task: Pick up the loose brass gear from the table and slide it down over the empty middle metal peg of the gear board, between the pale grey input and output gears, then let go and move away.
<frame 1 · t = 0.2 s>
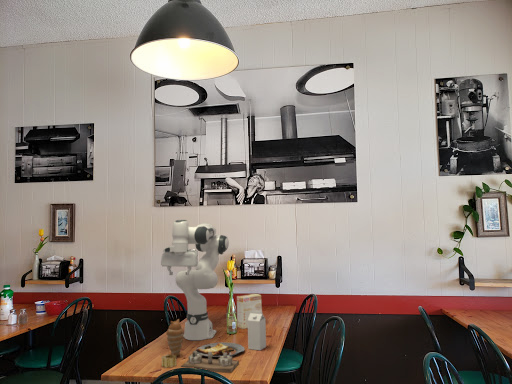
hand: (179, 275, 228), 39 cm above the table, tool pointing down, fingers open, 8 cm apart
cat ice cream: (175, 356, 214), on the table
food plate: (219, 353, 218), on the table
brass gear: (169, 365, 200), on the table
coffeecake box: (249, 326, 272), on the table
gear board: (210, 366, 197), on the table
milk carton: (257, 348, 224), on the table
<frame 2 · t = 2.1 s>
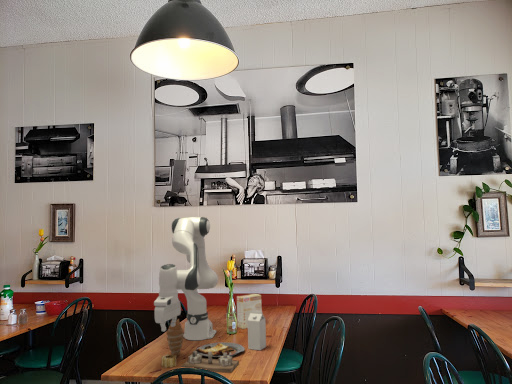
hand: (168, 328, 201), 17 cm above the table, tool pointing down, fingers open, 8 cm apart
nothing on the table moved.
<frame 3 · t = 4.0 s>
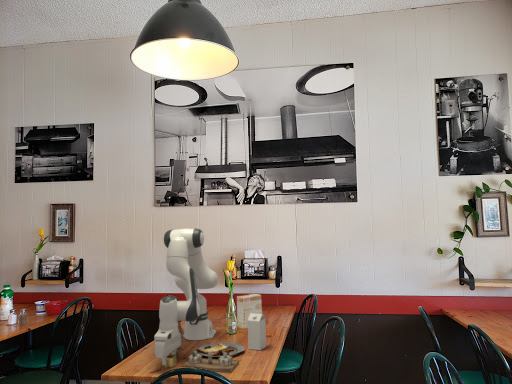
hand: (169, 361, 200), 2 cm above the table, tool pointing down, fingers closed on brass gear, 7 cm apart
brass gear: (169, 365, 200), on the table, touching gripper
everything else where it was.
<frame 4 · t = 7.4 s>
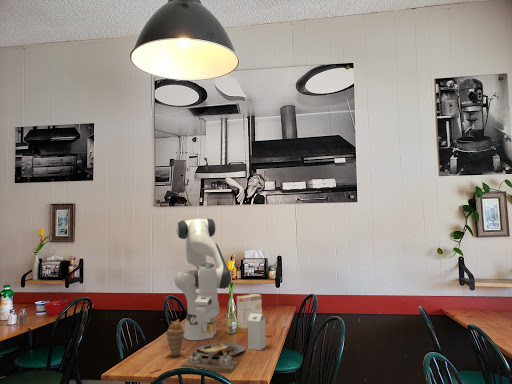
hand: (208, 328, 198), 17 cm above the table, tool pointing down, fingers closed on brass gear, 7 cm apart
brass gear: (208, 332, 198), point 16 cm above the table, touching gripper
everything else where it was.
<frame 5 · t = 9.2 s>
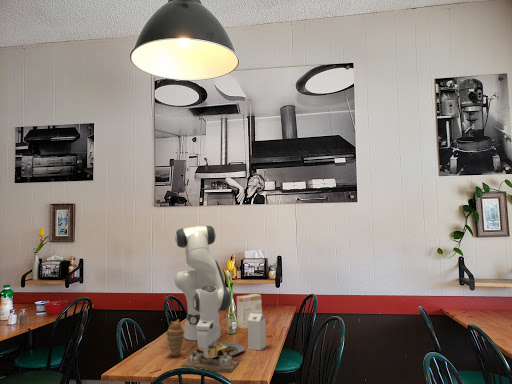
hand: (209, 352, 197), 6 cm above the table, tool pointing down, fingers closed on brass gear, 7 cm apart
brass gear: (210, 355, 197), point 5 cm above the table, touching gripper
everything else where it was.
when the fingers open (4 cm above the table, at t = 10.7 s): brass gear stays where it is, resting on gear board.
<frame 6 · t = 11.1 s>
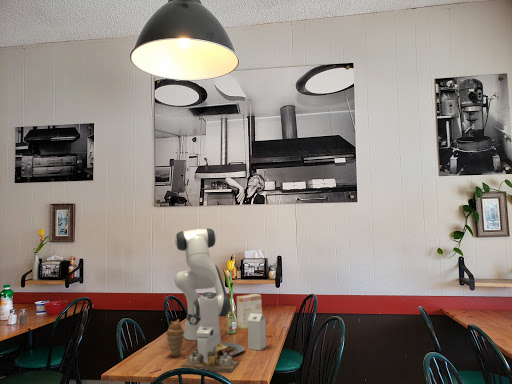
hand: (210, 358, 197), 4 cm above the table, tool pointing down, fingers open, 8 cm apart
brass gear: (210, 363, 197), point 1 cm above the table, touching gear board
everything else where it was.
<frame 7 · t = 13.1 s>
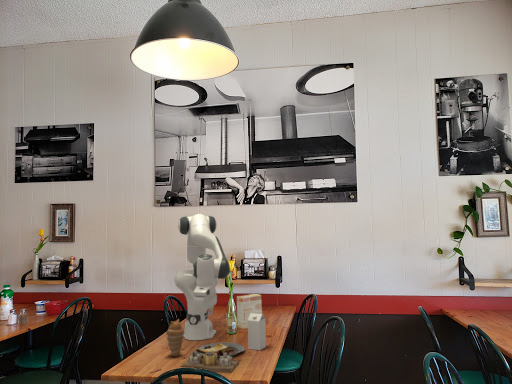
hand: (206, 317, 204), 21 cm above the table, tool pointing down, fingers open, 8 cm apart
nothing on the table moved.
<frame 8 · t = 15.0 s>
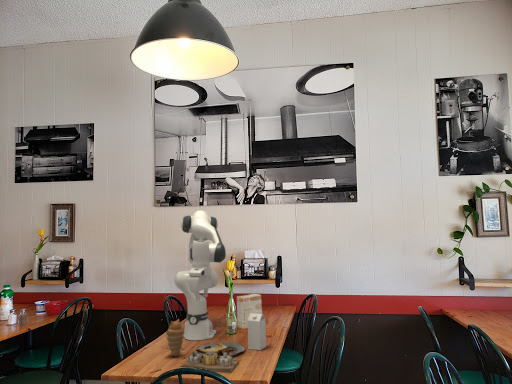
hand: (201, 298, 211), 29 cm above the table, tool pointing down, fingers open, 8 cm apart
nothing on the table moved.
at the end: brass gear 0.0 cm off-centre on the gear board, point 1.5 cm above the gear board's base; the gripper is holding nothing; brass gear tilted 0° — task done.
